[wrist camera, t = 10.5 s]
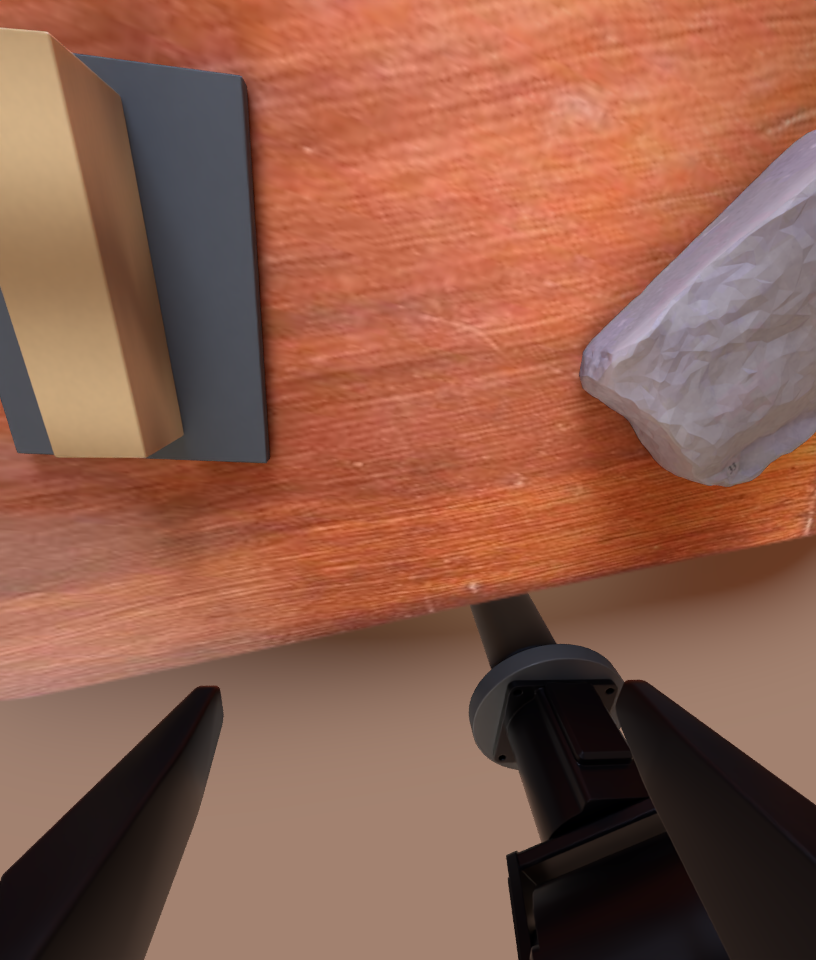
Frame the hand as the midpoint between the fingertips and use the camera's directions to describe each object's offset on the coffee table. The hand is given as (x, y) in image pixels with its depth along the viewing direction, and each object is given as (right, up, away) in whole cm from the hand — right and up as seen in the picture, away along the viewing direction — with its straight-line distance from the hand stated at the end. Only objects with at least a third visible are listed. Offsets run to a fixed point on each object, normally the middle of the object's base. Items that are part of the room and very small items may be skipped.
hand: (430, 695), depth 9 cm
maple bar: (-11, +12, +6) cm, 17 cm away
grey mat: (-11, +12, +6) cm, 17 cm away
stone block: (+14, +11, +9) cm, 20 cm away
